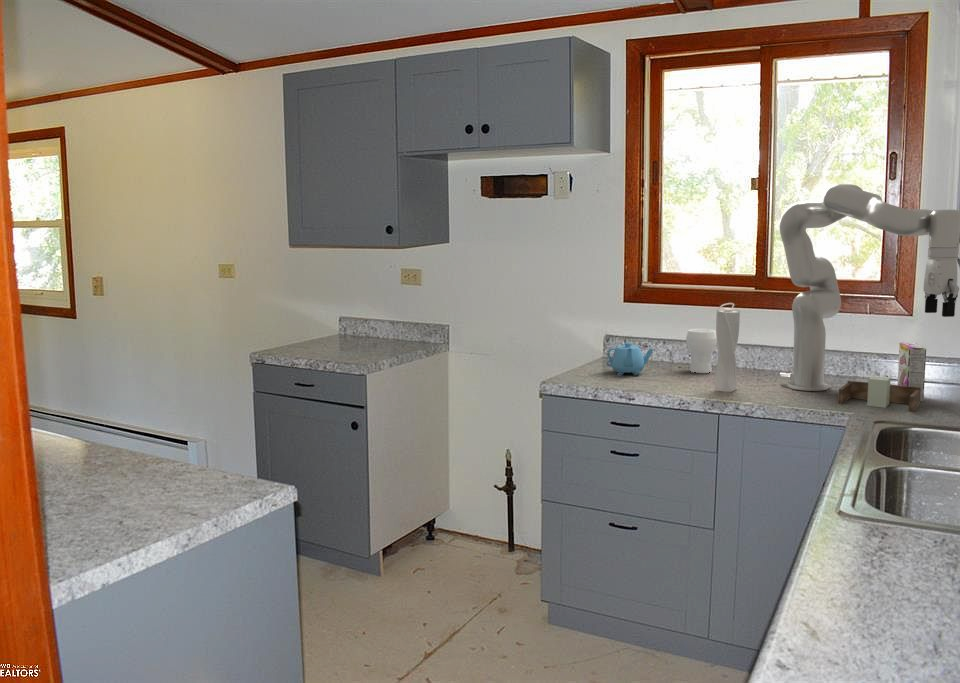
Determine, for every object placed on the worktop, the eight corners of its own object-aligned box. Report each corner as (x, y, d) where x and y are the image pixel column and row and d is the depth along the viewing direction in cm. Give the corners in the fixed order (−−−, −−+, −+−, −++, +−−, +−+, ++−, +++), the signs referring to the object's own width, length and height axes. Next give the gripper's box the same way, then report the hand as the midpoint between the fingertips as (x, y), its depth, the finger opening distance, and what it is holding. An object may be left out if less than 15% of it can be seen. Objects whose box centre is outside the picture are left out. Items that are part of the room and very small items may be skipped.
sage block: (867, 405, 249) (868, 378, 248) (870, 402, 253) (872, 376, 252) (885, 407, 246) (887, 380, 245) (889, 404, 250) (890, 377, 249)
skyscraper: (719, 386, 279) (721, 302, 275) (741, 388, 275) (744, 303, 271) (710, 390, 273) (712, 304, 269) (733, 393, 268) (736, 305, 264)
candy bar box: (895, 394, 264) (898, 342, 261) (912, 394, 263) (916, 342, 260) (905, 401, 253) (909, 347, 251) (924, 402, 252) (927, 347, 250)
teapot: (657, 374, 302) (657, 343, 301) (629, 378, 294) (630, 346, 293) (626, 368, 315) (627, 338, 313) (599, 372, 307) (599, 342, 305)
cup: (679, 371, 307) (680, 330, 305) (696, 367, 314) (697, 327, 312) (705, 375, 299) (706, 333, 297) (721, 371, 306) (722, 330, 304)
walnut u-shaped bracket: (838, 404, 251) (838, 387, 250) (847, 396, 261) (848, 380, 260) (912, 412, 240) (913, 394, 239) (919, 404, 249) (920, 387, 248)
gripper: (914, 253, 246) (911, 311, 249) (945, 255, 229) (941, 318, 232) (941, 252, 246) (937, 311, 248) (973, 255, 229) (969, 318, 231)
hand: (939, 314), depth 240 cm, fingers open, 9 cm apart
